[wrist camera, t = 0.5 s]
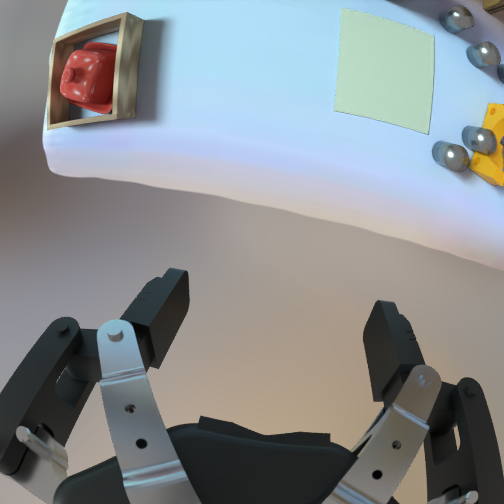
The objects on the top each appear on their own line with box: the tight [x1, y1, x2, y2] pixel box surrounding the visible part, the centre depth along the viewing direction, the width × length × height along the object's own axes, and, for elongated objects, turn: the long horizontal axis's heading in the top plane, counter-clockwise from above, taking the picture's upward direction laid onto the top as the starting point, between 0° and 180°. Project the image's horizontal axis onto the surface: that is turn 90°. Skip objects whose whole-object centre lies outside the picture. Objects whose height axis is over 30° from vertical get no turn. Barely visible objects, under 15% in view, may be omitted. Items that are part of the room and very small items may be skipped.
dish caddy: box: [47, 12, 144, 130], centre depth 30 cm, size 17×16×5 cm
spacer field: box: [432, 5, 504, 172], centre depth 22 cm, size 26×21×5 cm
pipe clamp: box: [469, 103, 504, 187], centre depth 25 cm, size 12×4×6 cm, turn 163°
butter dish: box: [60, 42, 117, 114], centre depth 29 cm, size 12×12×8 cm
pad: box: [334, 8, 434, 134], centre depth 27 cm, size 16×14×1 cm
